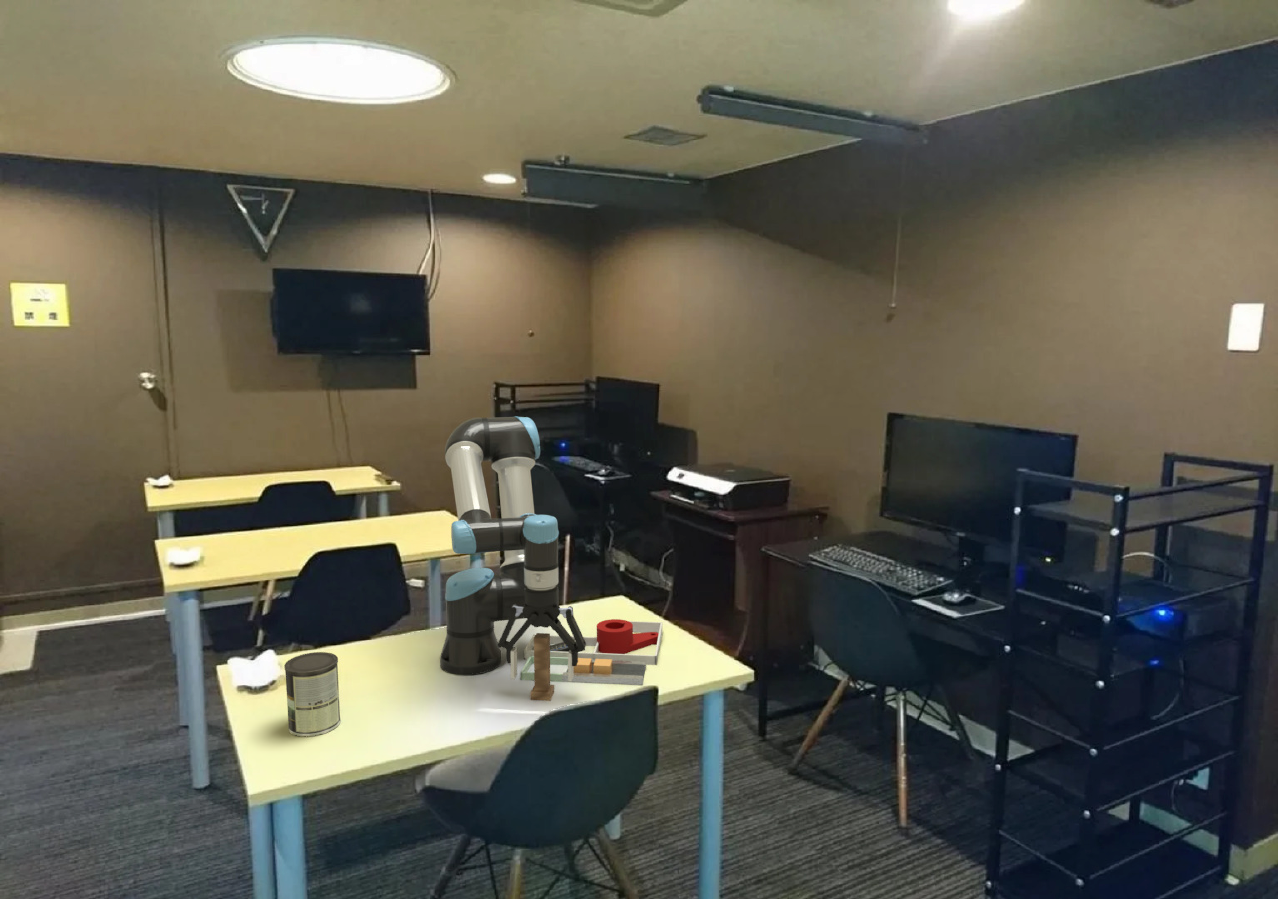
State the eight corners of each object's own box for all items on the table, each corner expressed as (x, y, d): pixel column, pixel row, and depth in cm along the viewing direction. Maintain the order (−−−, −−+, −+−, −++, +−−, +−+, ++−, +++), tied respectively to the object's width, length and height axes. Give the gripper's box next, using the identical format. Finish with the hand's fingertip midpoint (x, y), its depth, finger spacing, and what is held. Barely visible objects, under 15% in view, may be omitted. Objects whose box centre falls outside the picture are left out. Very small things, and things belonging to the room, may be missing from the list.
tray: (520, 682, 188) (520, 672, 188) (530, 665, 198) (529, 656, 198) (562, 684, 187) (562, 674, 187) (569, 667, 197) (569, 657, 197)
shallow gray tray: (562, 684, 187) (562, 675, 187) (569, 667, 197) (569, 658, 197) (642, 688, 186) (642, 679, 185) (645, 670, 196) (645, 661, 195)
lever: (606, 659, 202) (605, 634, 201) (591, 647, 210) (590, 622, 209) (668, 647, 210) (668, 622, 209) (651, 635, 218) (651, 612, 217)
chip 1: (572, 676, 190) (572, 664, 190) (575, 669, 194) (575, 657, 194) (589, 677, 190) (589, 665, 189) (591, 670, 194) (591, 658, 193)
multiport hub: (540, 656, 203) (540, 648, 203) (576, 646, 210) (576, 638, 210) (549, 662, 200) (549, 653, 200) (585, 652, 207) (585, 643, 206)
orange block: (593, 677, 190) (593, 665, 189) (595, 670, 194) (595, 658, 193) (610, 678, 189) (610, 666, 189) (612, 671, 193) (612, 659, 193)
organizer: (524, 662, 200) (523, 650, 200) (543, 628, 224) (543, 617, 224) (656, 667, 197) (656, 656, 197) (662, 632, 221) (662, 622, 221)
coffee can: (276, 731, 164) (272, 666, 162) (314, 710, 174) (311, 648, 172) (315, 741, 160) (311, 675, 158) (351, 719, 170) (348, 656, 168)
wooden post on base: (530, 703, 178) (529, 639, 176) (535, 694, 182) (534, 631, 180) (550, 704, 177) (549, 639, 175) (554, 695, 182) (553, 632, 180)
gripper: (482, 588, 174) (484, 682, 176) (593, 592, 171) (593, 687, 174) (492, 578, 181) (493, 668, 184) (598, 582, 179) (598, 673, 182)
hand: (542, 678), depth 179 cm, fingers open, 12 cm apart
